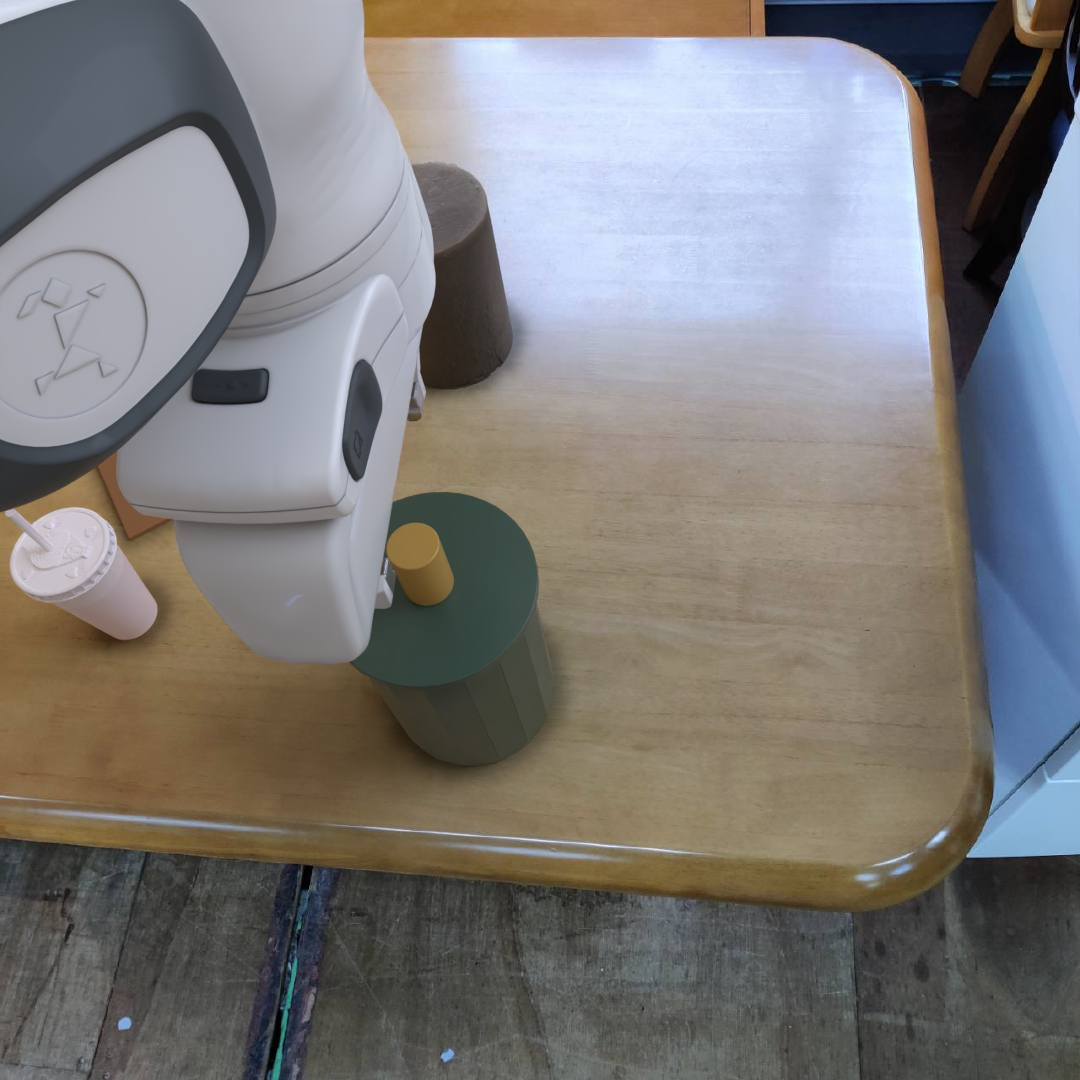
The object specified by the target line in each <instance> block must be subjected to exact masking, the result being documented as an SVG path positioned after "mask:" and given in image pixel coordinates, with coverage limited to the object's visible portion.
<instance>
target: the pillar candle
mask: <svg viewBox="0 0 1080 1080" xmlns="http://www.w3.org/2000/svg"><path fill="white" fill-rule="evenodd" d="M411 166H412V169H413V172H414V175H415V178H416V181H417V184H418V186H419V189H420V192H421V195H422V199H423V202H424V205H425V208H426V211H427V214H428V218H429V221H430V225H431V229H432V236H433V246H434V267H435V292H434V298H433V301H432V305H431V308H430V311H429V313H428V316H427V318H426V320H425V321H424V323H423V328H422V334H421V340H420V346H419V354H420V374H421V377H422V380H423V383H424V386H425V388H431V389H436V390H448V389H449V390H455V389H461V388H466V387H467V386H468V387H469V386H472V385H473V384H477V383H480V382H482V381H484V380H486V379H488V378H489V377H490V376H491V375H492V373H494V372H496V370H497V369H498V368H499V367H501V366H502V365H503V364H504V363H505V362H506V360H507V358H508V356H509V355H510V352H511V349H512V346H513V338H514V337H513V328H512V322H511V317H510V311H509V306H508V301H507V296H506V292H505V286H504V285H505V284H504V281H503V275H502V270H501V263H500V259H499V253H498V249H497V243H496V239H495V233H494V227H493V223H492V218H491V213H490V208H489V202H488V197H487V193H486V191H485V188H484V187H483V185H482V184H481V182H480V181H479V180H478V178H477V177H475V175H474V174H472V173H471V172H470V171H467V170H465V169H464V168H462V167H459V166H458V165H457V164H455V163H446V162H443V161H432V162H431V161H428V162H425V163H411Z"/></svg>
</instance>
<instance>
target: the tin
mask: <svg viewBox="0 0 1080 1080" xmlns="http://www.w3.org/2000/svg"><path fill="white" fill-rule="evenodd" d="M539 609H540V608H539V605H538V603H537V604H536V609H535V611H534V614H533V617H532V620H531V622H530V624H529V626H528V628H527V630H526V632H525V633H524V635H523V636H522V638H521V639H520V641H519V642H518V644H517V645H516V646H515V647H514V648H513V649H512V651H511V652H510V653H509V654H508V655H507V656H506V657H505V658H504V659H502V660H501V661H500V662H499V663H498V664H497V665H495V666H494V667H492V668H491V669H490V670H488V671H487V672H485V673H484V674H482V675H480V676H478V677H476V678H474V679H472V680H470V681H467V682H465V683H462V684H459V685H456V686H452V687H448V688H444V689H438V690H429V691H411V690H404V689H397V688H394V687H390V686H386V685H383V684H381V683H379V682H376V681H374V680H372V679H370V678H368V679H369V681H370V682H371V684H372V685H373V687H374V688H375V690H376V691H377V693H378V695H380V697H381V698H382V699H383V701H384V702H385V704H386V706H387V707H388V708H389V710H390V711H391V713H392V714H393V716H394V717H395V719H396V720H397V722H398V723H399V725H400V726H401V727H402V729H403V730H404V731H405V733H406V735H407V736H408V737H409V739H410V741H412V742H413V743H414V744H416V745H417V746H418V747H419V748H420V749H421V750H423V751H424V753H426V754H428V755H429V756H431V757H432V758H434V759H435V760H439V761H441V762H443V763H446V764H450V765H453V766H460V767H481V766H486V765H487V766H488V765H492V764H496V763H498V762H501V761H503V760H506V759H507V758H510V757H511V756H513V755H515V754H517V753H518V752H519V751H521V750H522V749H524V748H525V747H526V746H527V745H528V744H529V743H530V742H531V741H532V740H533V739H534V738H535V737H536V735H538V733H539V732H540V731H541V729H542V727H543V726H544V724H545V722H546V720H547V719H548V716H549V714H550V710H551V707H552V704H553V699H554V691H555V680H554V674H553V669H552V662H551V658H550V652H549V649H548V644H547V641H546V636H545V632H544V626H543V623H542V618H541V614H540V610H539Z"/></svg>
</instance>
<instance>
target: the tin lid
mask: <svg viewBox="0 0 1080 1080" xmlns="http://www.w3.org/2000/svg"><path fill="white" fill-rule="evenodd" d="M383 558H389V560H390V562H391V564H392V568H393V570H395V572H396V580H395V587H394V594H393V599H392V605H391V607H389V608H386V609H374V614H373V620H372V628H371V634H370V640H369V643H368V646H367V648H366V649H365V651H364V652H363V653H362V654H361V655H360V656H358V657H357V658H356V659H355V660H352V661H350V662H348V664H349V665H351V666H352V667H353V668H354V669H355V670H357V672H359V673H360V674H362V675H364V676H365V677H367V678H368V679H369V678H370V679H372V680H374V681H376V682H379V683H381V684H383V685H386V686H390V687H394V688H397V689H404V690H411V691H429V690H438V689H444V688H448V687H452V686H456V685H459V684H462V683H465V682H467V681H470V680H472V679H474V678H476V677H478V676H480V675H482V674H484V673H485V672H487V671H488V670H490V669H491V668H492V667H494V666H495V665H497V664H498V663H499V662H500V661H501V660H502V659H504V658H505V657H506V656H507V655H508V654H509V653H510V652H511V651H512V649H513V648H514V647H515V646H516V645H517V644H518V642H519V641H520V639H521V638H522V636H523V635H524V633H525V632H526V630H527V628H528V626H529V624H530V622H531V620H532V617H533V614H534V611H535V609H536V604H537V605H538V599H539V594H540V593H539V591H540V576H539V569H538V568H539V567H538V563H537V559H536V555H535V552H534V549H533V547H532V544H531V542H530V539H529V538H528V537H527V535H526V533H525V532H524V530H523V529H522V528H521V526H520V525H519V524H518V523H517V521H516V520H514V519H513V518H512V517H511V516H510V515H509V514H508V513H507V512H505V511H504V510H503V509H501V508H500V507H499V506H497V505H494V504H492V503H491V502H489V501H487V500H485V499H482V498H479V497H477V496H474V495H469V494H466V493H461V492H451V491H430V492H423V493H422V492H421V493H418V494H412V495H408V496H406V497H403V498H400V499H397V500H393V503H392V509H391V515H390V521H389V527H388V533H387V538H386V544H385V550H384V556H383ZM370 679H369V680H370Z"/></svg>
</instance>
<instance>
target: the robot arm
mask: <svg viewBox="0 0 1080 1080" xmlns="http://www.w3.org/2000/svg"><path fill="white" fill-rule="evenodd" d="M411 164H412V163H411V161H410V158H409V156H408V154H407V151H406V149H405V147H404V145H403V143H402V139H401V136H400V133H399V131H398V129H397V125H396V123H395V121H394V118H393V117H392V115H391V113H390V111H389V110H388V107H387V105H385V103H384V102H383V100H382V98H381V97H380V95H379V94H378V93H377V91H376V88H375V87H374V86H373V84H372V82H371V79H370V77H369V73H368V69H367V66H366V61H365V9H364V2H363V0H0V513H3V512H6V511H7V510H10V509H14V510H15V509H16V508H19V507H22V506H25V505H28V504H31V503H33V502H35V501H38V500H40V499H43V498H46V497H48V496H50V495H51V494H54V493H56V492H58V491H60V490H62V489H63V488H65V487H67V486H69V485H70V484H72V483H75V482H76V481H77V480H79V479H81V478H82V477H83V476H85V475H86V474H88V473H90V472H91V471H93V470H94V469H96V468H98V466H99V465H100V464H101V463H103V462H104V461H105V460H106V459H108V458H109V457H110V456H111V455H113V454H114V453H115V452H116V451H117V461H116V476H117V482H118V485H119V488H120V490H121V492H122V494H123V496H124V497H125V499H126V500H127V501H128V502H129V504H130V505H131V506H132V507H133V508H134V509H136V510H137V511H138V512H139V513H141V514H143V515H147V516H152V517H160V518H167V519H173V527H174V535H175V542H176V545H177V550H178V552H179V555H180V558H181V561H182V563H183V566H184V568H185V569H186V572H187V574H188V575H189V577H190V579H191V580H192V582H193V583H194V585H195V586H196V588H197V589H198V591H200V593H201V594H202V596H203V597H204V599H206V601H207V602H208V603H209V606H211V608H212V609H213V610H214V611H215V613H217V615H218V616H219V617H220V618H221V620H222V621H223V622H224V623H225V624H226V625H227V627H228V628H229V629H230V630H231V631H232V632H233V633H234V634H235V635H236V636H237V638H238V639H239V640H240V641H241V642H243V644H244V645H246V646H247V647H248V649H250V650H251V651H252V652H253V653H254V654H256V655H258V656H260V657H262V658H263V659H265V660H269V661H275V662H280V663H290V664H302V665H303V664H305V665H306V664H307V665H334V664H335V665H336V664H346V663H349V662H350V661H352V660H355V659H356V658H357V657H358V656H360V655H361V654H362V653H363V652H364V651H365V649H366V648H367V646H368V643H369V640H370V634H371V628H372V620H373V614H374V609H386V608H389V607H391V605H392V599H393V594H394V587H395V580H396V572H395V570H393V568H392V564H391V562H390V560H389V558H383V556H384V550H385V544H386V538H387V533H388V527H389V521H390V515H391V509H392V503H393V502H394V497H395V491H396V486H397V480H398V474H399V467H400V462H401V457H402V451H403V450H402V449H403V445H404V438H405V432H406V428H407V421H408V422H418V421H420V420H421V419H422V416H423V411H424V405H425V401H426V394H427V390H426V386H424V383H423V380H422V377H421V374H420V354H419V346H420V340H421V334H422V328H423V323H424V321H425V320H426V318H427V316H428V313H429V311H430V308H431V305H432V301H433V298H434V292H435V267H434V246H433V236H432V229H431V225H430V221H429V218H428V214H427V211H426V208H425V205H424V202H423V199H422V195H421V192H420V189H419V186H418V184H417V181H416V178H415V175H414V172H413V169H412V166H411Z"/></svg>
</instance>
